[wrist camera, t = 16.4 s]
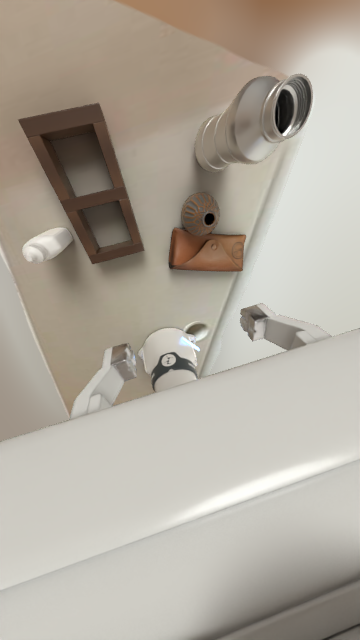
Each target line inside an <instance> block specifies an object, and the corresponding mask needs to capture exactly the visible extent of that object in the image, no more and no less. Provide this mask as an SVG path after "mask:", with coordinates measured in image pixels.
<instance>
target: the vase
mask: <svg viewBox="0 0 360 640" xmlns="http://www.w3.org/2000/svg"><path fill="white" fill-rule="evenodd" d="M219 215H220V212H219V207H218V204H217V202H216V201H215V199H214V198H213V197H212V196H210V195H209V194H206V193H196V194H193V195H192V196H190V197H189V198H188V199H187V200H186V201H185V203H184V205H183V207H182V211H181V219H182V223H183V225H184V227H185V229H186V230H187V231H188V232H189V233H191V234H193V235H196V236H204V235H207V234H209V233H210V232H212V231H213V230H214V228H215V227H216V225H217V223H218V221H219Z"/></svg>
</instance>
